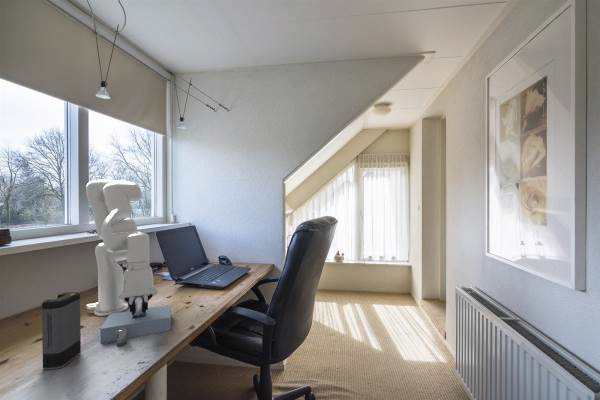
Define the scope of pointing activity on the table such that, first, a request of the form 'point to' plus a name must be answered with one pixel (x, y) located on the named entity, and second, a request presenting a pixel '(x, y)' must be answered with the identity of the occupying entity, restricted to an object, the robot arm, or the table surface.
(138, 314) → the long pin
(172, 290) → the table surface
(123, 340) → the short pin
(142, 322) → the bore block
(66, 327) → the electronic device
